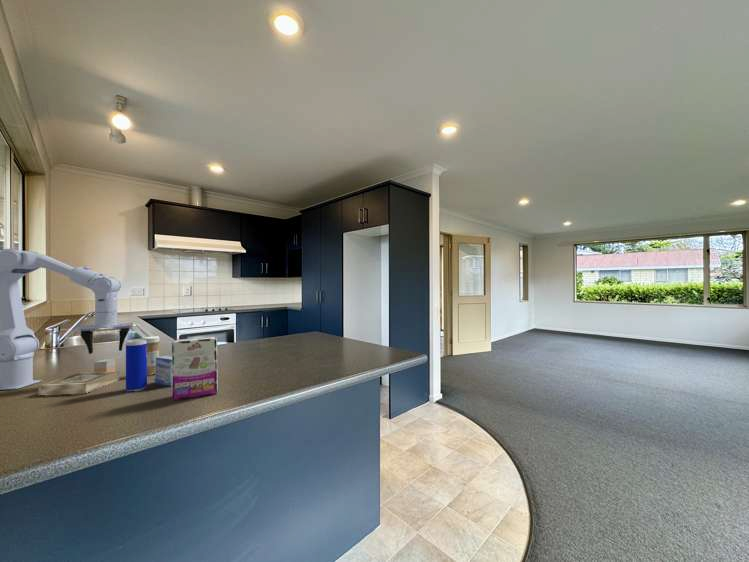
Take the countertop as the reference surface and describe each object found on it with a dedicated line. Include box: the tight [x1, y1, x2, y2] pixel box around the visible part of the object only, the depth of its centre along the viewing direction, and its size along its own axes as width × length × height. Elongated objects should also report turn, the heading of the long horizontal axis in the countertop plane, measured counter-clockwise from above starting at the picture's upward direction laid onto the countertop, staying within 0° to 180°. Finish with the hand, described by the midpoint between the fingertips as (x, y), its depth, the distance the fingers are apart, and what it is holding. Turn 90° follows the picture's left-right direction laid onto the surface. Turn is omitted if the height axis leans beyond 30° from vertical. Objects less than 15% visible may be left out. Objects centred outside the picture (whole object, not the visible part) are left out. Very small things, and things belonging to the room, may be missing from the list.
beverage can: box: [125, 339, 148, 393], centre depth 94 cm, size 5×5×15 cm
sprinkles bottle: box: [143, 335, 160, 376], centre depth 110 cm, size 5×5×14 cm
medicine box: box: [154, 354, 173, 387], centre depth 99 cm, size 8×4×9 cm, turn 68°
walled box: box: [37, 370, 120, 397], centre depth 96 cm, size 13×13×3 cm
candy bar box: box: [171, 335, 219, 401], centre depth 89 cm, size 11×5×16 cm, turn 115°
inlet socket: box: [59, 375, 103, 384], centre depth 96 cm, size 7×7×2 cm
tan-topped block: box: [93, 358, 116, 372], centre depth 106 cm, size 4×4×6 cm
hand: (106, 351), depth 104 cm, fingers open, 7 cm apart
